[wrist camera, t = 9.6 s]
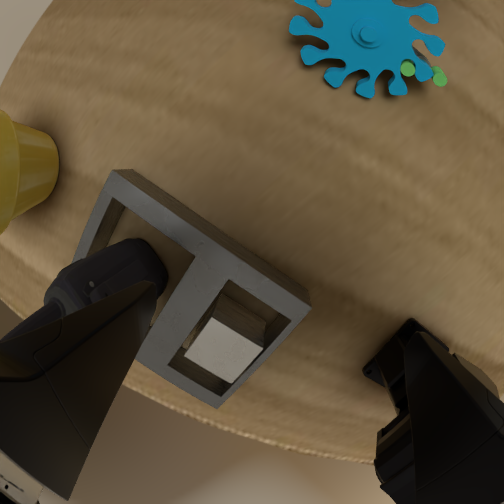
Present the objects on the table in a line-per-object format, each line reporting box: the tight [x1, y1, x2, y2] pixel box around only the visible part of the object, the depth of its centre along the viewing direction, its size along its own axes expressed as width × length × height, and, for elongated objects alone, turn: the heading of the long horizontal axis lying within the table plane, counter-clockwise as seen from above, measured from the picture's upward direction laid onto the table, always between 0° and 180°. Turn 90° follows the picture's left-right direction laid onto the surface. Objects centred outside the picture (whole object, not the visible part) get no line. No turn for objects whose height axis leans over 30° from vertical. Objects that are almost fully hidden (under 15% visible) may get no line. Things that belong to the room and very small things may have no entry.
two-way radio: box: [0, 239, 167, 342], centre depth 15 cm, size 6×4×15 cm
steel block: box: [184, 294, 265, 384], centre depth 21 cm, size 4×4×4 cm
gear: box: [289, 0, 447, 98], centre depth 14 cm, size 11×6×10 cm
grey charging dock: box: [71, 169, 312, 409], centre depth 21 cm, size 16×12×3 cm
